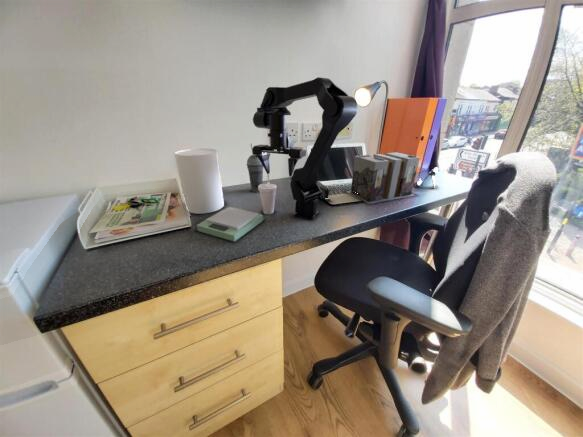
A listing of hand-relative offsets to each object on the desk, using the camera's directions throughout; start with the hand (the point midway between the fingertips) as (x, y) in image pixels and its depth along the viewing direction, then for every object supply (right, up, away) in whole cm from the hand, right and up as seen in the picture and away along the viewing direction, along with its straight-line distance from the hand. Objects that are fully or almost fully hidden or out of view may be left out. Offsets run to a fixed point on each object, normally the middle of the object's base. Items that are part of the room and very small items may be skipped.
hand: (279, 175), depth 86 cm
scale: (-14, -18, -12) cm, 26 cm away
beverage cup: (-11, -3, +19) cm, 22 cm away
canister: (-28, -11, +3) cm, 30 cm away
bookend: (+43, -5, +16) cm, 46 cm away
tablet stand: (+68, -1, +25) cm, 73 cm away
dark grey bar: (+17, -6, +13) cm, 22 cm away
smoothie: (-4, -14, -2) cm, 14 cm away
